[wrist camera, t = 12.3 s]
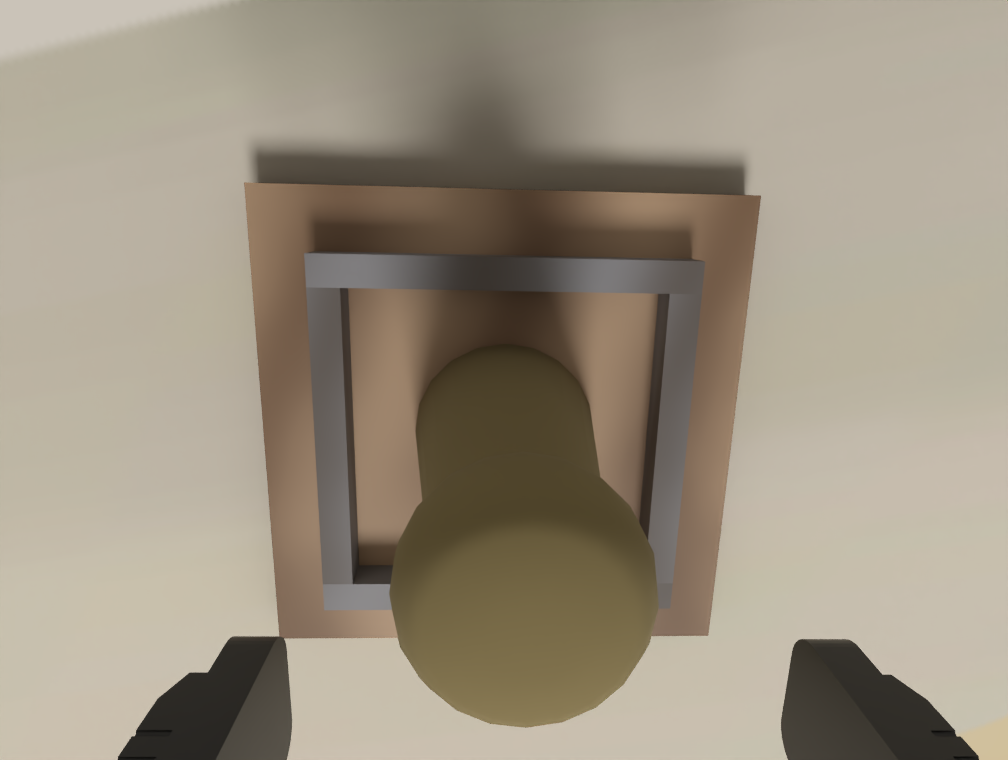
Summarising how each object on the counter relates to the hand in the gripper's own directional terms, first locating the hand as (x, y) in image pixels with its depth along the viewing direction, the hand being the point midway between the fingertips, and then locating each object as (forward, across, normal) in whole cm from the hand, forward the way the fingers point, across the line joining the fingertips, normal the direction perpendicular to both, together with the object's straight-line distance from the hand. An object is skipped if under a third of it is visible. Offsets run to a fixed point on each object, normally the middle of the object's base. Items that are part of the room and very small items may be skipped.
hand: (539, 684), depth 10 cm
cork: (+12, 0, 0) cm, 12 cm away
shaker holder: (+13, 0, 0) cm, 13 cm away
